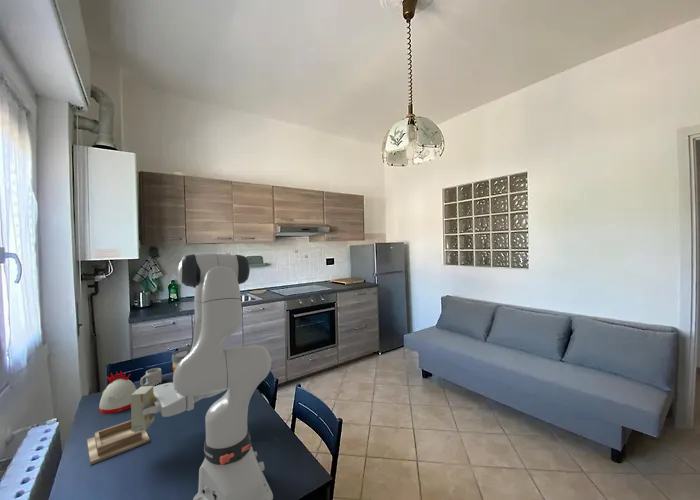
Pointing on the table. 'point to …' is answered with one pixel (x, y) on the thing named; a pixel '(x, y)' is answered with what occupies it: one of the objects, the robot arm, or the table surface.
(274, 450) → the table surface
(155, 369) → the mug
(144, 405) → the skincare box
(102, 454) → the oak stand
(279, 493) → the table surface
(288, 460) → the table surface
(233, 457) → the robot arm
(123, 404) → the kitchen timer
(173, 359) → the reusable coffee cup
